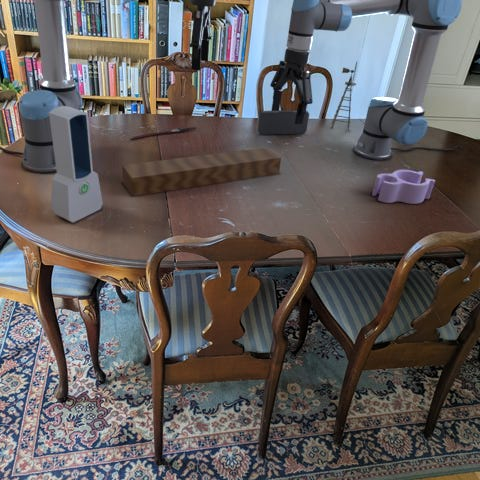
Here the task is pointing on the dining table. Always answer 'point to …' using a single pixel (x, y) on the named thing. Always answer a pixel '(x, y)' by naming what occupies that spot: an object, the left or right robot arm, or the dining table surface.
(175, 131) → the sword
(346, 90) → the miniature windmill
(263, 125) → the handheld gaming console
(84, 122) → the electronic device
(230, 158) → the slab
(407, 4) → the right robot arm
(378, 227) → the dining table surface
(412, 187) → the clip
